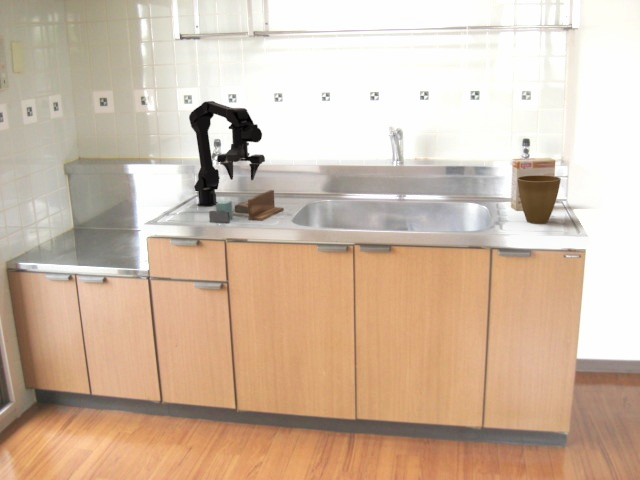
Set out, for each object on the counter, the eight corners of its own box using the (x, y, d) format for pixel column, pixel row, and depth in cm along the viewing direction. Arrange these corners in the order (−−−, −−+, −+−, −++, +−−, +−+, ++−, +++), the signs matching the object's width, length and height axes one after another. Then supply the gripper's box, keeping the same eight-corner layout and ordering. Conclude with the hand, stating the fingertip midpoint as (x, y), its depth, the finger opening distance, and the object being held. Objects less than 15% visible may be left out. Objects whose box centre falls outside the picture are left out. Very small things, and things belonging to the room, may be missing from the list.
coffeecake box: (547, 205, 284) (549, 157, 279) (553, 209, 277) (556, 159, 272) (510, 207, 284) (512, 158, 279) (515, 210, 277) (517, 160, 272)
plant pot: (559, 218, 262) (562, 175, 258) (556, 227, 249) (559, 182, 245) (518, 215, 268) (520, 174, 264) (512, 224, 255) (514, 180, 251)
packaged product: (252, 196, 296) (272, 197, 292) (252, 207, 298) (273, 209, 293) (228, 204, 281) (249, 206, 276) (228, 216, 282) (250, 218, 278)
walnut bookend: (248, 219, 273) (247, 199, 271) (271, 209, 291) (270, 190, 289) (261, 220, 271) (261, 200, 269) (283, 210, 289) (282, 190, 287)
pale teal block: (217, 221, 272) (215, 203, 270) (223, 218, 277) (222, 200, 275) (226, 221, 271) (225, 203, 269) (232, 218, 275) (231, 201, 273)
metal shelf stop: (209, 221, 271) (209, 211, 270) (211, 221, 272) (210, 211, 271) (228, 223, 268) (227, 212, 267) (229, 222, 269) (229, 212, 268)
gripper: (208, 142, 277) (211, 182, 280) (251, 143, 270) (253, 184, 274) (222, 139, 287) (225, 177, 290) (264, 140, 280) (266, 179, 284)
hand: (241, 179), depth 284 cm, fingers open, 9 cm apart
